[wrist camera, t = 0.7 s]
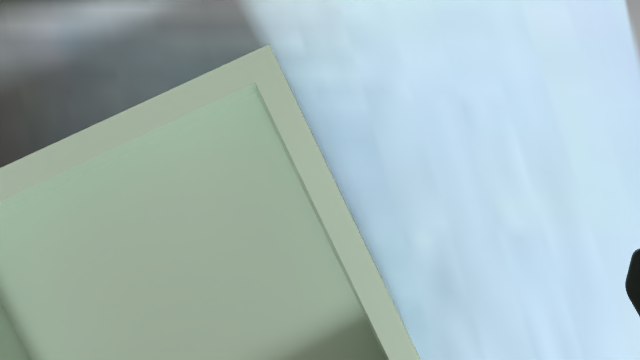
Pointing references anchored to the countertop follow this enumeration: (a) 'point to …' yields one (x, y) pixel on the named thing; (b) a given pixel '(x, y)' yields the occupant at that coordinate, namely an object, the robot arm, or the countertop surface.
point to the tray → (190, 236)
